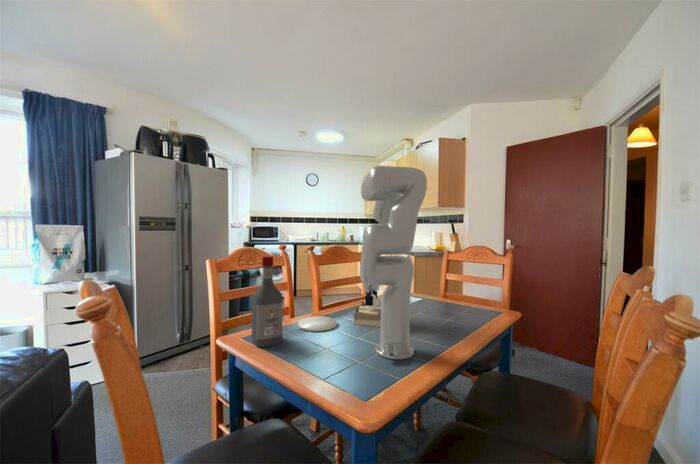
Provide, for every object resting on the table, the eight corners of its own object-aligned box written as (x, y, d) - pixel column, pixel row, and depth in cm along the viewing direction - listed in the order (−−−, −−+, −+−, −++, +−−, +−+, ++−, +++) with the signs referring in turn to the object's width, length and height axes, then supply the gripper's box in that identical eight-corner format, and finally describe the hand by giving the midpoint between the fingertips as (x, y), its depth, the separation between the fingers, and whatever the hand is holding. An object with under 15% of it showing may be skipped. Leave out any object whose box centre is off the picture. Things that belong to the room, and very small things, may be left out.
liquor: (284, 343, 104) (285, 257, 103) (258, 349, 99) (258, 258, 98) (274, 335, 111) (275, 255, 111) (250, 340, 106) (250, 256, 105)
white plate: (328, 334, 113) (328, 330, 113) (290, 329, 118) (290, 326, 118) (341, 321, 129) (341, 318, 129) (307, 317, 133) (307, 314, 133)
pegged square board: (382, 327, 122) (382, 310, 121) (354, 324, 125) (354, 307, 125) (387, 318, 133) (387, 303, 133) (361, 315, 137) (361, 300, 136)
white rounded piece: (367, 307, 133) (367, 291, 133) (380, 309, 130) (380, 293, 130) (362, 310, 127) (362, 294, 127) (376, 312, 125) (376, 296, 124)
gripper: (376, 265, 119) (375, 308, 120) (384, 261, 136) (383, 298, 136) (358, 264, 121) (357, 307, 122) (368, 260, 138) (367, 297, 138)
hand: (371, 302), depth 129 cm, fingers open, 8 cm apart
